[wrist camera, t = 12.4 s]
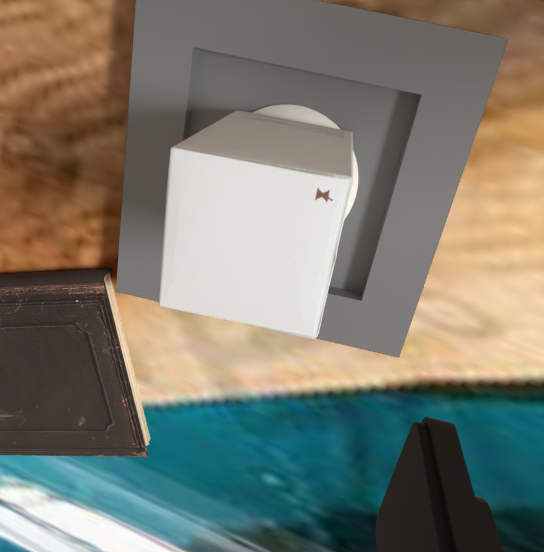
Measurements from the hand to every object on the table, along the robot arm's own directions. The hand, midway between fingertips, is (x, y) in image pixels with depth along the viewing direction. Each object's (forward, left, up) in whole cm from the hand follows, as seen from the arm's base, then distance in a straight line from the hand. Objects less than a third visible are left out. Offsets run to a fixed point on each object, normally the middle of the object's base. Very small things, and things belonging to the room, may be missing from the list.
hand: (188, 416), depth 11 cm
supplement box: (+1, 0, -24) cm, 24 cm away
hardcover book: (+20, +21, -25) cm, 38 cm away
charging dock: (0, 0, -24) cm, 24 cm away
